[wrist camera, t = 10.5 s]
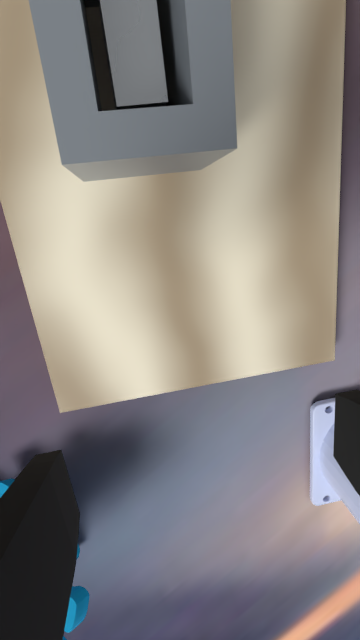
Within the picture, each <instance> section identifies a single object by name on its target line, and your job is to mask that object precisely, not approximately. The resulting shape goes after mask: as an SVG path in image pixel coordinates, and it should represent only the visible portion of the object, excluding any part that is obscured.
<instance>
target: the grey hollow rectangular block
mask: <svg viewBox="0 0 360 640" xmlns="http://www.w3.org/2000/svg"><path fill="white" fill-rule="evenodd" d="M156 1H157V9H158V18H159V27H160V35H161V44H162V53H163V61H164V70H165V78H166V87H167V96H168V104H167V106H162V107H149V108H136V109H123V110H110V111H102V109H101V103H100V96H99V90H98V84H97V77H96V71H95V65H94V59H93V52H92V46H91V40H90V34H89V27H88V21H87V15H86V8H85V7H99V1H98V0H29V5H30V10H31V15H32V20H33V25H34V30H35V35H36V40H37V45H38V50H39V55H40V59H41V64H42V69H43V74H44V79H45V84H46V89H47V94H48V99H49V104H50V109H51V114H52V119H53V124H54V129H55V134H56V139H57V144H58V148H59V153H60V158H61V163H62V165H63V166H64V167H65V168H67V169H68V170H69V171H70V172H72V173H73V174H74V175H76V176H77V177H78V178H79V179H81V180H82V181H83V182H87V181H96V180H106V179H116V178H126V177H136V176H146V175H156V174H166V173H176V172H186V171H196V170H202V169H203V168H205V167H207V166H208V165H210V164H212V163H213V162H215V161H217V160H219V159H220V158H222V157H224V156H225V155H227V154H229V153H230V152H232V151H234V150H235V149H237V129H236V108H235V86H234V64H233V42H232V20H231V0H156Z"/></svg>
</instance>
